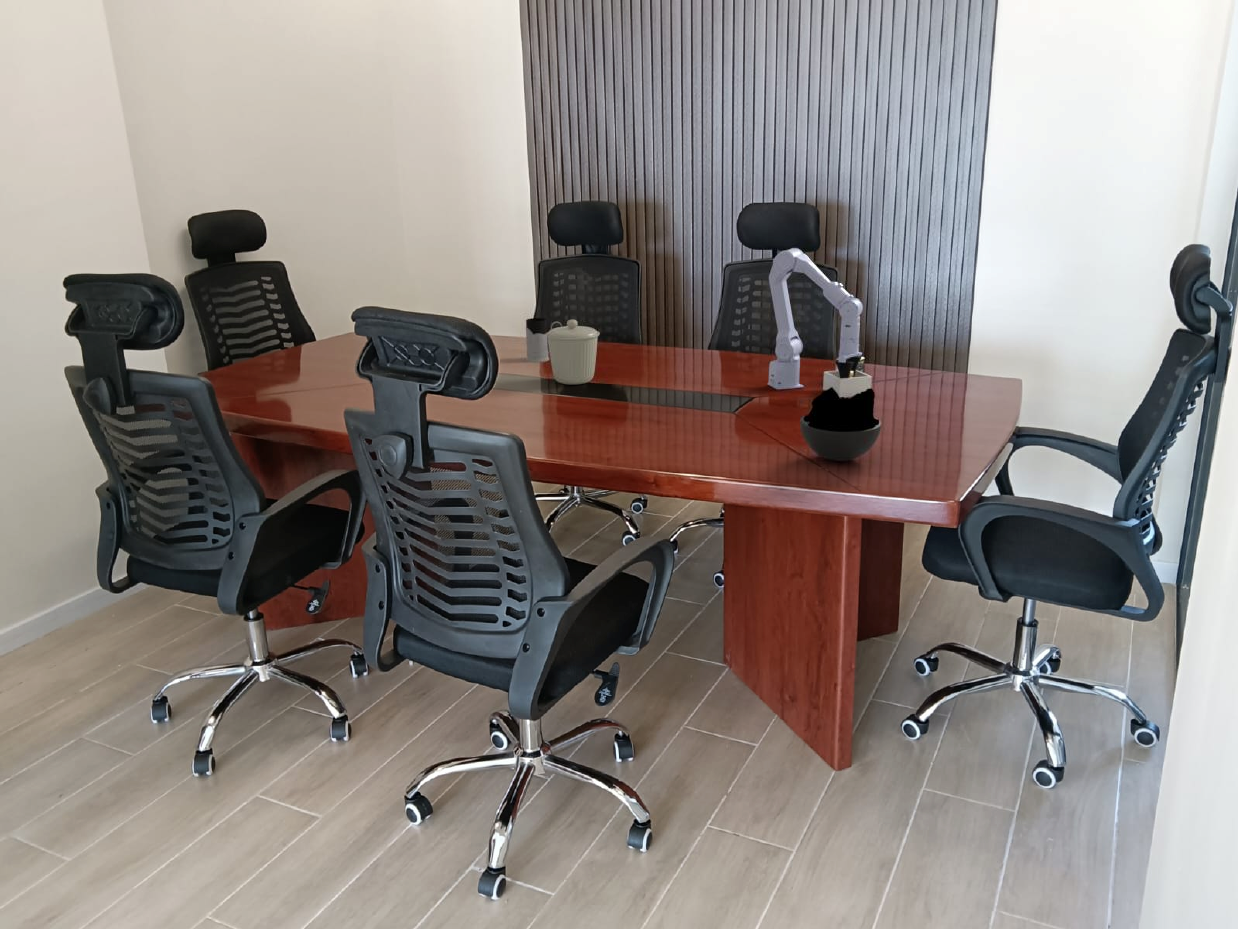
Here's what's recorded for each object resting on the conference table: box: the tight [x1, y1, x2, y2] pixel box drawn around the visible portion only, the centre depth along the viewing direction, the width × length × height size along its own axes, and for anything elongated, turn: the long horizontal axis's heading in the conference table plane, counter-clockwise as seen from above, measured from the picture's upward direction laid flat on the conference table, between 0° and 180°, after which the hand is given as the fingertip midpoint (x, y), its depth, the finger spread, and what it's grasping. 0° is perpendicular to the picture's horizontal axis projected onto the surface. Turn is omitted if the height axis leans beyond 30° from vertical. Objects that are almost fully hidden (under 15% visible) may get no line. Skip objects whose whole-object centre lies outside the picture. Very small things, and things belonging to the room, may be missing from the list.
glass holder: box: [525, 317, 563, 363], centre depth 374 cm, size 9×14×15 cm, turn 107°
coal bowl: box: [799, 387, 882, 462], centre depth 252 cm, size 20×20×19 cm
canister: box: [545, 319, 601, 385], centre depth 338 cm, size 18×18×21 cm
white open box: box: [822, 370, 873, 398], centre depth 320 cm, size 11×11×6 cm
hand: (847, 380), depth 320 cm, fingers open, 6 cm apart
